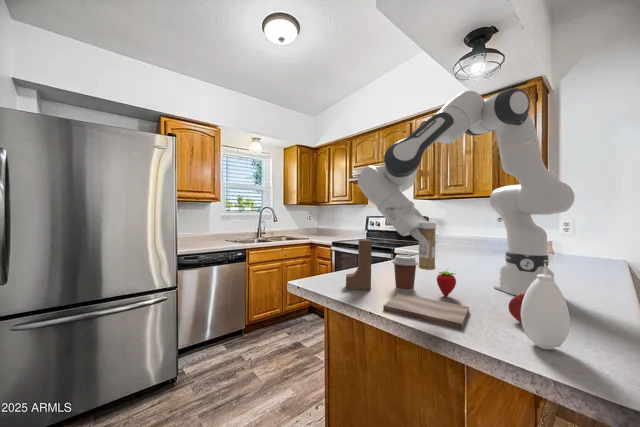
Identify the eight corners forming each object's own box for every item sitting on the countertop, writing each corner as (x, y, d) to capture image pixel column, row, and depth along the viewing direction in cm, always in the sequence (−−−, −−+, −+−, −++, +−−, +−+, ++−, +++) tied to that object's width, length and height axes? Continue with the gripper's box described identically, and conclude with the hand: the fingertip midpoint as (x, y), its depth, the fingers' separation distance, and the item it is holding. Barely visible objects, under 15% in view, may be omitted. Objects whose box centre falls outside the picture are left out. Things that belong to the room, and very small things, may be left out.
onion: (542, 329, 64) (542, 296, 64) (515, 327, 65) (516, 295, 65) (528, 319, 69) (528, 289, 69) (504, 317, 71) (504, 288, 71)
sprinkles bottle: (438, 270, 73) (439, 222, 73) (424, 270, 72) (425, 222, 72) (428, 266, 77) (429, 221, 77) (414, 267, 76) (415, 221, 76)
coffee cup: (422, 289, 95) (423, 257, 95) (408, 294, 90) (408, 259, 90) (401, 283, 102) (402, 253, 102) (386, 287, 97) (387, 255, 97)
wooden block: (345, 289, 94) (346, 240, 94) (346, 285, 99) (346, 238, 99) (370, 290, 94) (371, 240, 93) (369, 286, 98) (370, 239, 98)
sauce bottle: (522, 350, 54) (524, 263, 54) (518, 335, 61) (519, 258, 60) (574, 362, 50) (576, 268, 50) (563, 344, 56) (564, 262, 56)
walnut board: (399, 297, 86) (399, 293, 86) (468, 312, 74) (469, 306, 74) (383, 310, 75) (383, 305, 75) (461, 329, 63) (461, 323, 63)
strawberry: (452, 293, 91) (453, 265, 91) (458, 301, 83) (459, 270, 83) (434, 292, 92) (434, 264, 92) (438, 299, 85) (439, 268, 85)
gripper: (391, 199, 70) (428, 238, 64) (413, 202, 86) (445, 233, 81) (375, 215, 73) (410, 254, 67) (400, 215, 89) (429, 246, 83)
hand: (429, 242), depth 74 cm, fingers closed on sprinkles bottle, 4 cm apart
